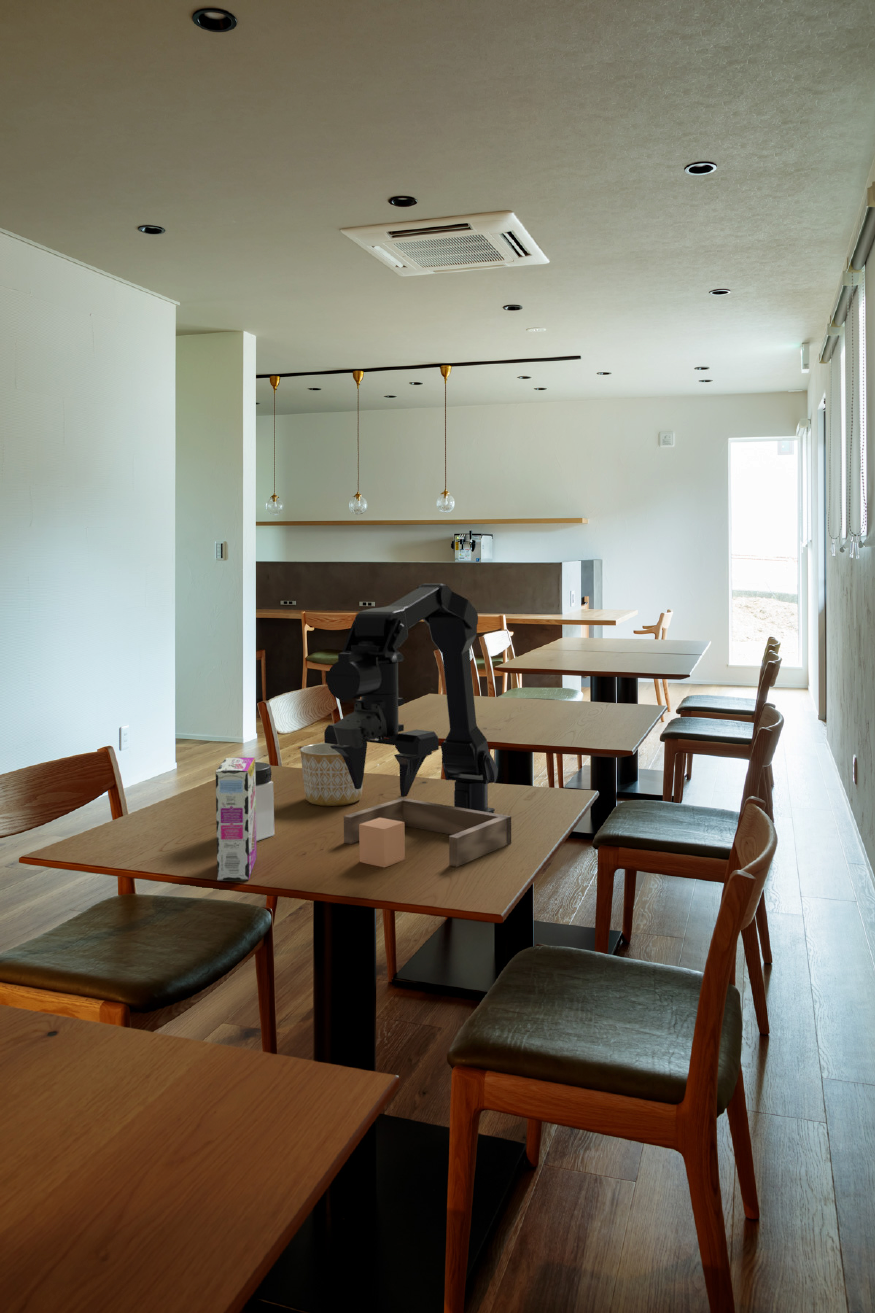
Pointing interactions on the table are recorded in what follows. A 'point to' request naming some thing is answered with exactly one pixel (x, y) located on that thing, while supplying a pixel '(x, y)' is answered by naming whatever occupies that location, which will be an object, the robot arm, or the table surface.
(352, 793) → the planter
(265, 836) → the jar
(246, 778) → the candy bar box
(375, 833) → the terracotta block
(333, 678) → the robot arm
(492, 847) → the walnut pen
